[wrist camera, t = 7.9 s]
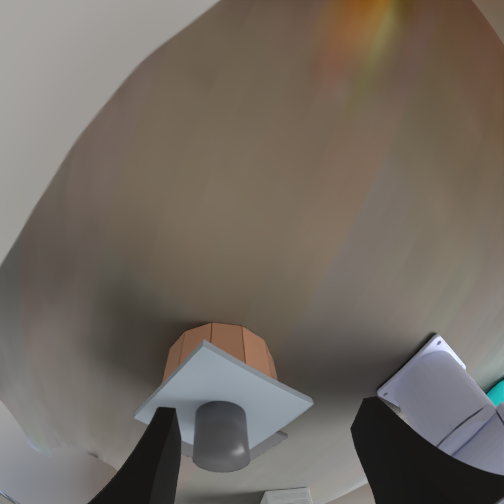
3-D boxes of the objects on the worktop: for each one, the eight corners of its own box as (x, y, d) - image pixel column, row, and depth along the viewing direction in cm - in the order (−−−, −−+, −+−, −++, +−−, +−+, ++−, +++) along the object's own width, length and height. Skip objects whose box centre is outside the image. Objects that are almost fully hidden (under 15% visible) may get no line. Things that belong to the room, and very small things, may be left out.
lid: (311, 397, 18) (327, 446, 14) (232, 453, 19) (235, 496, 15) (203, 339, 15) (199, 394, 11) (135, 411, 17) (123, 458, 13)
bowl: (292, 357, 22) (305, 398, 17) (230, 410, 23) (231, 450, 19) (208, 304, 20) (204, 344, 15) (151, 369, 21) (140, 410, 17)
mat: (287, 434, 25) (287, 437, 25) (231, 468, 27) (231, 471, 27) (211, 402, 23) (211, 405, 22) (161, 442, 25) (161, 445, 24)
